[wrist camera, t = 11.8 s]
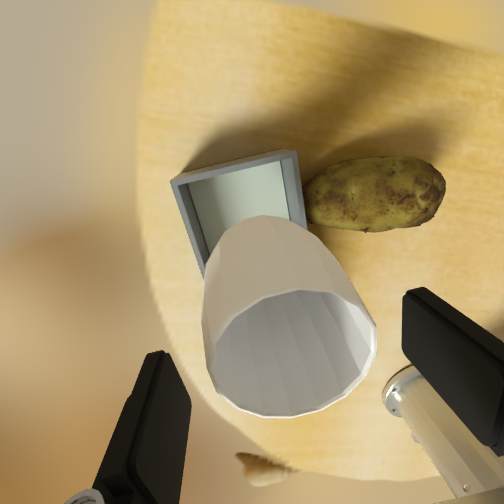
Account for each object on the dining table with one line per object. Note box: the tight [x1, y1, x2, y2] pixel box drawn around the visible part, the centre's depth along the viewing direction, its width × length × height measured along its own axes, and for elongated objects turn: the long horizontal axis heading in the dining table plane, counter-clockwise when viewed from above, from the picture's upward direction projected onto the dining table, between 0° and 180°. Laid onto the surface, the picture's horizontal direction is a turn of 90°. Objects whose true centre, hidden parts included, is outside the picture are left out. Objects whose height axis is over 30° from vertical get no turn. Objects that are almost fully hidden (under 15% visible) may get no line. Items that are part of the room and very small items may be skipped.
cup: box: [201, 215, 377, 418], centre depth 19 cm, size 7×7×21 cm
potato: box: [302, 156, 446, 233], centre depth 26 cm, size 8×13×8 cm, turn 79°
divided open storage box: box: [170, 149, 308, 279], centre depth 29 cm, size 22×11×6 cm, turn 12°
